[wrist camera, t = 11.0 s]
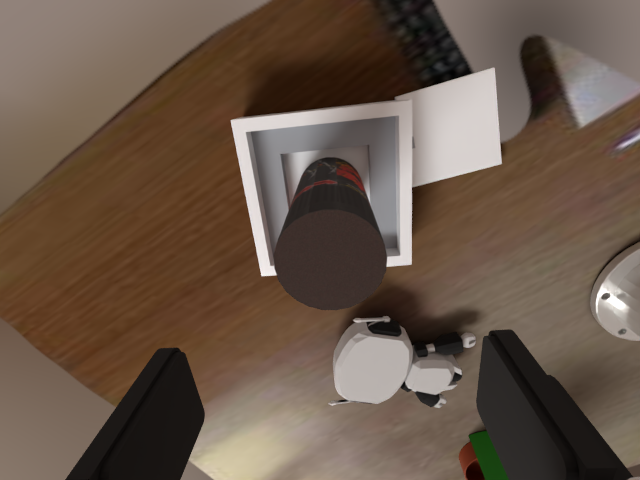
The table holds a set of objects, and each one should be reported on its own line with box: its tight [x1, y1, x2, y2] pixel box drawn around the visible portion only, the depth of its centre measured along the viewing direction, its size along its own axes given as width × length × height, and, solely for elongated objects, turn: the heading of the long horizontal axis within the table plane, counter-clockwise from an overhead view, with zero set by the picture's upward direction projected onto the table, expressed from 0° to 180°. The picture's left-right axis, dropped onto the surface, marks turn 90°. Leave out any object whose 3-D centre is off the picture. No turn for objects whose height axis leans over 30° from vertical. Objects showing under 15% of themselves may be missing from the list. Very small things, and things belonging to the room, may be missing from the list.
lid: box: [395, 68, 502, 187], centre depth 29 cm, size 10×8×1 cm
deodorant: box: [274, 157, 387, 310], centre depth 24 cm, size 6×6×15 cm
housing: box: [231, 99, 412, 276], centre depth 30 cm, size 14×14×4 cm
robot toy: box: [328, 316, 476, 408], centre depth 38 cm, size 12×4×15 cm
